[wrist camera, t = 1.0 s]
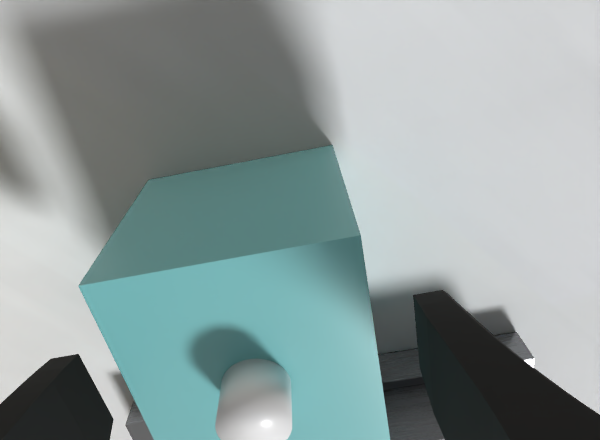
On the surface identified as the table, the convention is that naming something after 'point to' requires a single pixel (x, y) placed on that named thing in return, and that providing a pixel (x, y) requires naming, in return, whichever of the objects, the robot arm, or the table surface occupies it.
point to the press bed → (387, 396)
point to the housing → (243, 304)
